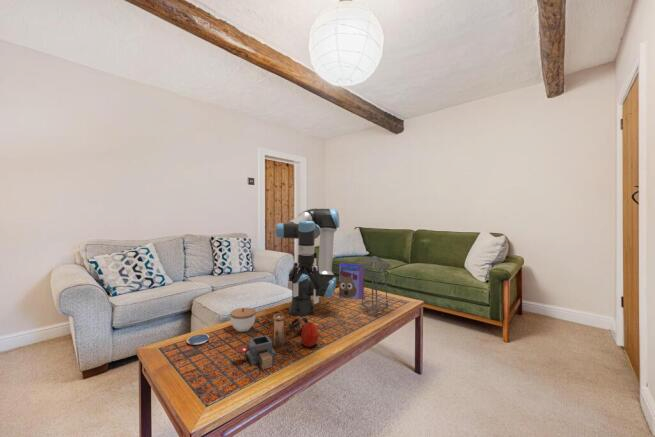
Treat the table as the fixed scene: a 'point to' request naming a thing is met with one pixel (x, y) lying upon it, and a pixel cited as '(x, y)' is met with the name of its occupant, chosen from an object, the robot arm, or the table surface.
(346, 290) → the cereal box
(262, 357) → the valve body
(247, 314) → the lidded bowl
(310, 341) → the apple
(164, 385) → the table surface
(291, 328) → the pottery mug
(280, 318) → the pipe fitting
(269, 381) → the table surface
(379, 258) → the geometric lantern
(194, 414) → the table surface
